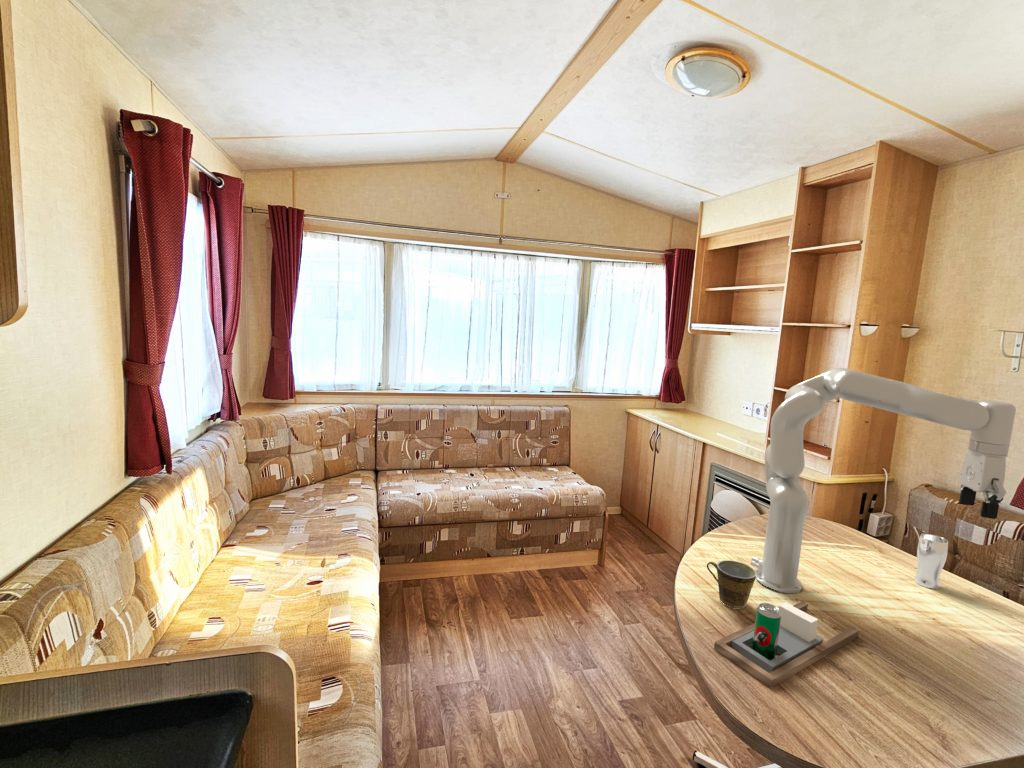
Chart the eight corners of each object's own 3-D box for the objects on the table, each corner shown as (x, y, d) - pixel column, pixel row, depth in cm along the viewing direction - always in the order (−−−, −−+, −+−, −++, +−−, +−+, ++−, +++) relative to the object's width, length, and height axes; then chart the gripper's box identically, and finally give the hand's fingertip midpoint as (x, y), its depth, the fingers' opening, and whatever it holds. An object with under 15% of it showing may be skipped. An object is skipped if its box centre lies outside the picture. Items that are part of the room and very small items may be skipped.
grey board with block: (731, 648, 117) (734, 621, 116) (781, 623, 128) (785, 598, 127) (771, 675, 108) (775, 646, 108) (822, 646, 119) (825, 619, 118)
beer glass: (917, 586, 150) (924, 540, 148) (908, 576, 157) (916, 531, 155) (945, 592, 148) (953, 545, 146) (935, 581, 154) (943, 536, 152)
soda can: (778, 664, 112) (784, 616, 111) (755, 660, 113) (760, 612, 112) (771, 650, 117) (777, 603, 116) (749, 646, 118) (754, 600, 117)
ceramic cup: (757, 603, 137) (761, 569, 136) (745, 617, 130) (749, 582, 129) (710, 584, 146) (714, 552, 145) (697, 597, 139) (700, 564, 137)
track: (713, 648, 117) (714, 640, 117) (801, 607, 136) (802, 600, 136) (771, 688, 105) (772, 679, 105) (858, 636, 124) (859, 629, 124)
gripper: (952, 439, 137) (942, 497, 140) (990, 454, 121) (978, 520, 123) (985, 442, 135) (975, 502, 137) (1029, 458, 119) (1016, 525, 121)
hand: (976, 510), depth 130 cm, fingers open, 9 cm apart
